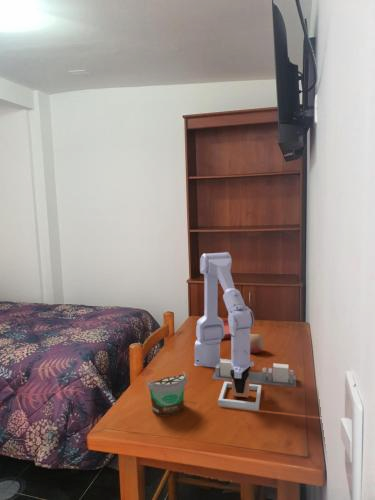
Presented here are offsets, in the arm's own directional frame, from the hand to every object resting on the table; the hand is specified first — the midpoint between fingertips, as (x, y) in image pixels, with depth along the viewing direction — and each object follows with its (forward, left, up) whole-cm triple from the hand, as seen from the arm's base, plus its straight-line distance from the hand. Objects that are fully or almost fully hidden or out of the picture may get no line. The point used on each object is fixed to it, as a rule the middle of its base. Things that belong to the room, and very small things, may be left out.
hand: (240, 389), depth 118 cm
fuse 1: (-6, +14, -2) cm, 15 cm away
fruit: (+1, +37, -3) cm, 37 cm away
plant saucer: (-14, +58, -3) cm, 60 cm away
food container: (-19, -12, -3) cm, 23 cm away
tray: (0, 0, -3) cm, 3 cm away
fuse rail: (+3, +14, -3) cm, 15 cm away
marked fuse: (0, 0, -1) cm, 1 cm away
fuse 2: (+12, +14, -2) cm, 19 cm away
